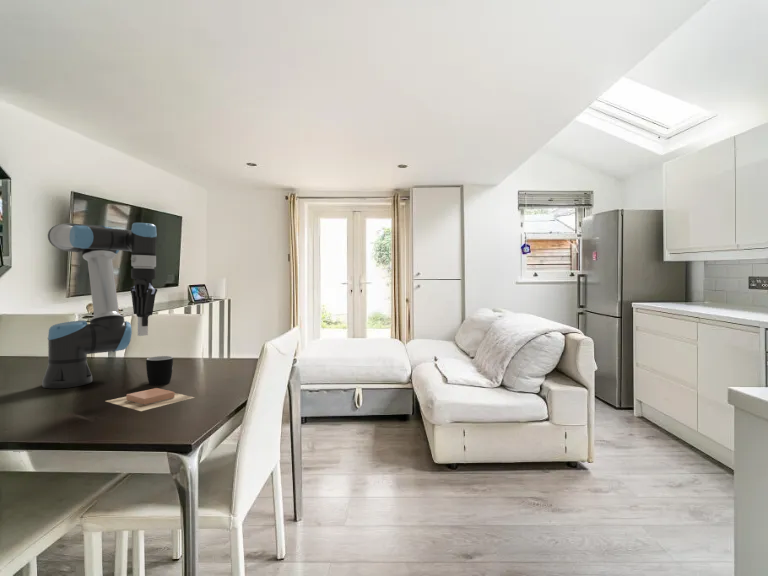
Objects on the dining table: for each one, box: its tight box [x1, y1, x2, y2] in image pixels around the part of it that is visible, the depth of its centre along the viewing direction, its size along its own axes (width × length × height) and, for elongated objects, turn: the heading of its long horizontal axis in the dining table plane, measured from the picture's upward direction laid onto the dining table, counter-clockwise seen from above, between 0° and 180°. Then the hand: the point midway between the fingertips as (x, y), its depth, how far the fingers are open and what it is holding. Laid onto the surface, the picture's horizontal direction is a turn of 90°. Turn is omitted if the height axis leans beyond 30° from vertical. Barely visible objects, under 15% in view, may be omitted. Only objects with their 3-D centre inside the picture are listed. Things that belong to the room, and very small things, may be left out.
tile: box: [125, 387, 175, 405], centre depth 139 cm, size 2×10×10 cm
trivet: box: [104, 392, 196, 412], centre depth 139 cm, size 20×18×1 cm
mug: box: [145, 355, 174, 386], centre depth 162 cm, size 12×9×10 cm
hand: (142, 335), depth 149 cm, fingers closed
